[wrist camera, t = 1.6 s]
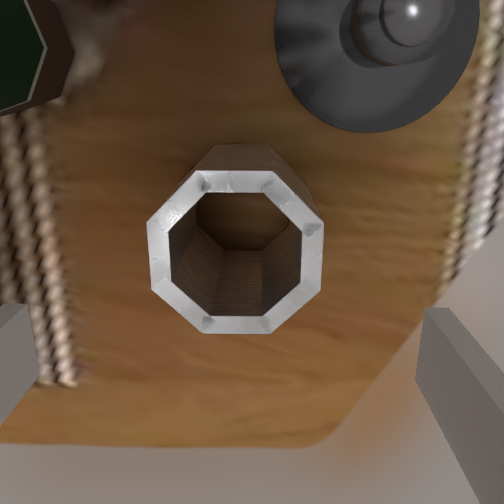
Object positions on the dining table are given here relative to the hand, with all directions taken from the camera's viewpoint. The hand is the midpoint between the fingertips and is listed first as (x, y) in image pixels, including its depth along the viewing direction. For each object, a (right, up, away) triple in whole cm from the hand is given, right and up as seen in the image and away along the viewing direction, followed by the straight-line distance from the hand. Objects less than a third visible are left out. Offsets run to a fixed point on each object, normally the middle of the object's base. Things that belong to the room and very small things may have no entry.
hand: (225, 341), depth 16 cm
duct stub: (+8, +16, +13) cm, 22 cm away
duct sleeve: (0, +6, +16) cm, 18 cm away
